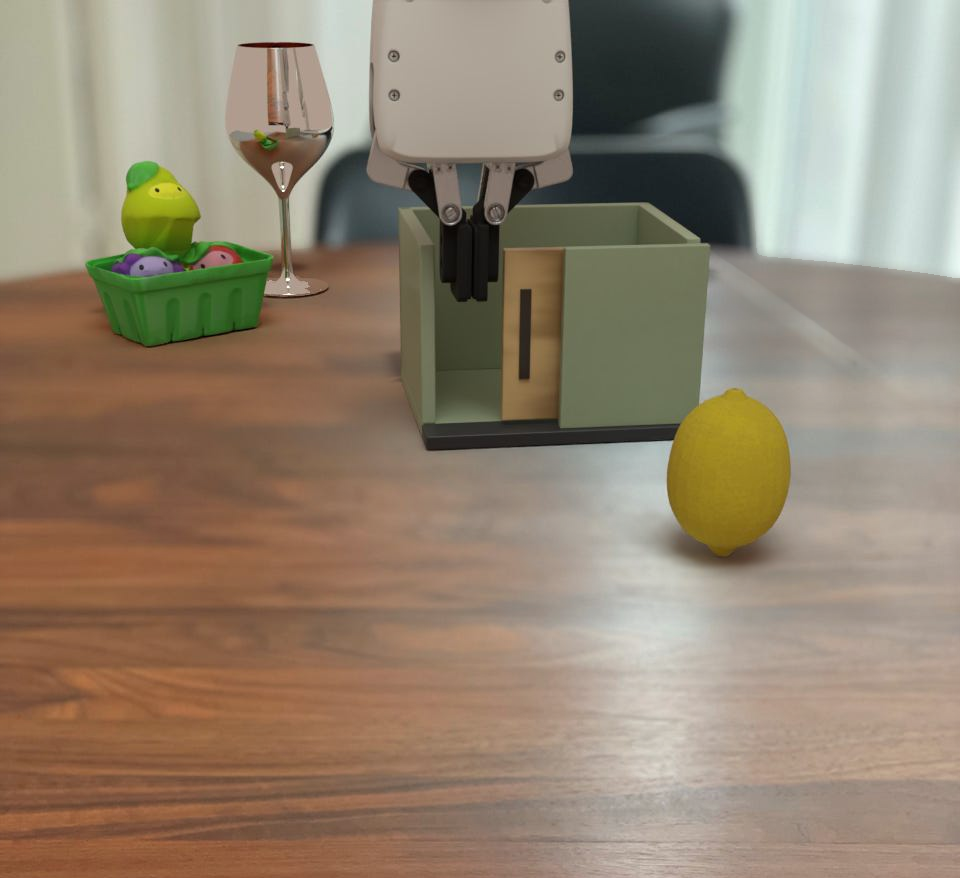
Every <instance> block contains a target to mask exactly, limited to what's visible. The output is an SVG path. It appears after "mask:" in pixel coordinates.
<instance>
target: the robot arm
mask: <svg viewBox="0 0 960 878" xmlns="http://www.w3.org/2000/svg"><path fill="white" fill-rule="evenodd" d="M570 15H571V14H570V2H569V0H372V7H371V19H370V38H369V39H370V40H369V41H370V42H369V65H368V66H369V70H368V121H369V132H370V136H371V139H372V142H371V146H370V151H369V155H368V159H367V164H366V174H367V176H368V179H370V181H371V182H372V183H375V184H376V185H377V184H378V185H382V186H385V187H386V186H387V187H390V188H394V189H398V190H402V191H407V192H411V193H414V194H415V195H416V196H417V198H418V199H420V201H422V202H423V203H424V204H425V205H426V207H429V208H430V209H431V210H432V211H433V212H434V213H435V215H436V216H437V217H438V218H439V219H440V264H439V268H440V280H441V282H442V283H450V288H451V292H452V294H453V296H454V297H455V299H456V301H457V302H467V300H468V299H471V296H472V298H473V299H476V301H477V302H487V298H488V282H497V281H498V275H499V230H500V224H501V223H503V222H504V221H505V219H506V217H507V214H508V213H509V212H510V211H511V210H512V209H513V208H514V207H515V206H516V205H519V203H520V202H521V201H522V200H523V199H524V198H525V197H526V196H527V195H528V194H529V193H530V192H531V191H533V190H536V189H542V188H543V189H544V188H547V187H551V186H554V185H557V184H561V183H565V182H567V181H569V180H570V179H571V178H572V177H573V175H574V168H573V167H574V166H573V163H572V158H571V153H570V147H569V145H570V143H571V137H572V130H573V114H574V109H573V108H574V86H573V85H574V84H573V83H574V81H573V57H572V56H573V55H572V37H571V34H572V33H571V16H570ZM415 164H426V168H427V169H426V168H424V167H423V166H421V165H415ZM457 164H482V167H481V173H480V180H479V185H478V186H479V187H478V193H477V199H476V203H475V204H474V205H472V206H473V215H470V219H467V221H466V212H465V210H464V209H463V208H462V207H461V206H462V201H461V200H462V199H461V193H460V185H459V178H458V171H457Z"/></svg>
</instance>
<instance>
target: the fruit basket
mask: <svg viewBox="0 0 960 878" xmlns="http://www.w3.org/2000/svg"><path fill="white" fill-rule="evenodd" d="M125 183H126V194H125V199H124V201H123V203H122V207H121V213H120V214H121V215H120V220H121V227H122V232H123V234H124V237H125V239H126V241H127V242H128V244H130V245H131V246H132V247H133V249H132V248H130V249H129V250H127V251H126V252H125V253H121V254H116V255H109V256H105V257H99V258H93V259H90V260H87V261H85V263H84V266H85V269H86V270H87V272H88V274H89V277H90V278H92V280H93V282H94V285H95V288H96V290H97V293H98V296H99V298H100V301H101V304H102V306H103V309H104V311H105V314H106V317H107V319H108V321H109V324H110V326H111V327H110V328H111V329H112V331H113V333H114V334H115V333H116V335H120V336H122V337H123V338H125V339H128V340H130V341H133V342H134V343H138V342H139V343H138V344H141V345H143V346H144V347H147V346H149V347H154V346H159V345H160V344H161V345H165V344H164V343H166V344H168V342H169V343H171V342H170V341H172V343H174V342H182V341H188V340H193V339H197V338H201V337H209V336H214V335H219V334H225V333H229V332H232V331H240V330H246V329H252V328H256V327H258V323H259V319H260V315H261V309H262V305H263V301H264V297H265V296H264V291H265V286H266V282H267V278H269V277H268V276H269V272H270V271H271V270H272V266H273V262H274V258H275V257H274V255H272V254H270V253H266V252H263V251H261V250H257V249H254V248H250V247H246V246H243V245H240V244H238V243H234V242H229V241H223V240H222V241H220V240H213V241H203V240H201V241H196V240H195V241H193V233H194V226H195V224H196V223H197V222H199V220H200V219H201V218H202V215H201V212H200V211H201V210H200V208H199V206H198V203H197V202H196V200H195V199H194V197H193V196H192V194H191V193H190V192H189V191H188V190H187V189H186V188H185V187H183V185H181V183H179V182H178V180H177V179H176V177H175V175H174V174H173V173H172V172H171V171H170V170H168V169H166V168H165V167H162V166H160V165H159V164H158V163H157V162H155V161H151V160H144V161H140V162H138V161H137V162H134V163H133V164H132V165H131V166H130V167H129V169H128V171H127V172H126V175H125Z"/></svg>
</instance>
